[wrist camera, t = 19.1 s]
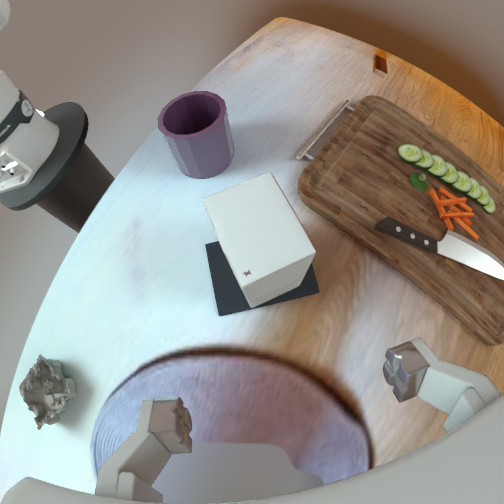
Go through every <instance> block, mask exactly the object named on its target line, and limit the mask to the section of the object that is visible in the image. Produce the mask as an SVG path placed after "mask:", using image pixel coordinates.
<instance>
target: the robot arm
mask: <svg viewBox="0 0 504 504" xmlns="http://www.w3.org/2000/svg"><path fill="white" fill-rule="evenodd" d="M9 16H10V4H9V1H8V0H0V32H1V30H2V29H3V28H4V27H5V26H6V25H7V23H8V20H9ZM58 137H59V127H58V125H56V124H54V123H53V122H51V121H49V120H48V119H46V118H45V117H44V114H43V113H42V112H40V111H38V110H36V109H34V107H33V106H32V104H31V102H30V101H29V99H28V98H27V97H26V96H25V95H24V93H23V92H22V91H21V90H17V88H16V87H15V86H14V85H13V83H12V82H11V81H10V79H9V78H8V77H7V75H6V74H5V73H4V71H2V70H1V69H0V194H1V193H4V192H7V191H10V190H13V189H16V188H19V187H23V186H26V185H28V184H29V183H30V182H31V180H32V178H33V177H34V175H35V173H36V172H37V170H38V169H39V168H40V167H41V165H42V164H43V163H44V162H45V161H46V159H47V158H48V157H49V155H50V154H51V152H52V151H53V149H54V147H55V145H56V143H57V140H58ZM386 358H387V360H386V362H385V363H384V366H383V373H384V377H385V379H386V381H387V383H388V384H389V385H391V386H394V388H393V393H394V395H395V396H396V398H397V400H398V401H399V403H401V402H403V401H406V400H408V399H410V398H413V397H415V396H417V397H418V398H420V399H422V400H423V401H425V402H427V403H429V404H430V405H432V406H434V407H436V408H437V409H439V410H441V411H443V412H444V413H446V414H448V415H449V416H448V418H447V419H446V421H445V422H444V424H443V428H444V429H445V431H446V433H445V434H444V435H442V436H440V437H438V438H437V439H435V440H433V441H431V442H429V443H427V444H426V445H424V446H422V447H420V448H418V449H416V450H414V451H412V452H410V453H408V454H406V455H403V456H401V457H399V458H397V459H395V460H392V461H390V462H388V463H385V464H383V465H381V466H378V467H376V468H373V469H370V470H368V471H365V472H362V473H360V474H357V475H354V476H351V477H348V478H345V479H342V480H339V481H336V482H332V483H329V484H325V485H322V486H318V487H314V488H310V489H306V490H302V491H297V492H293V493H288V494H283V495H277V496H272V497H266V498H259V499H252V500H243V501H234V502H222V503H198V504H504V393H503V394H502V395H501V393H500V392H499V391H498V390H497V388H496V387H495V386H494V385H493V383H492V382H491V381H490V380H489V379H488V377H487V376H486V375H483V374H480V373H477V372H474V371H472V370H469V369H466V368H463V367H461V366H458V365H455V364H452V363H450V362H447V361H444V360H442V361H440V360H439V359H438V358H437V356H436V355H435V354H434V353H433V352H432V350H431V349H430V348H429V347H428V346H427V345H426V343H425V342H424V341H423V340H422V339H421V338H419V337H418V338H416V339H413V340H411V341H408V342H405V343H403V344H400V345H398V346H395V347H393V348H390V349H388V350H387V351H386ZM191 430H192V421H191V416H190V413H189V411H188V409H187V408H185V407H183V401H182V399H181V398H180V397H178V398H161V399H143V401H142V402H141V406H140V411H139V417H138V422H137V428H136V432H134V433H132V434H131V435H130V436H129V437H128V438H127V439H126V440H125V441H124V442H123V443H122V445H121V446H120V447H119V448H118V449H117V450H116V451H115V452H114V453H113V454H112V455H111V456H110V457H109V458H108V459H107V461H106V462H105V463H104V464H103V465H102V466H101V467H100V468H99V473H98V478H97V484H96V489H95V495H94V494H89V493H84V492H80V491H76V490H72V489H68V488H64V487H60V486H57V485H53V484H50V483H47V482H44V481H41V480H38V479H35V478H32V477H26V478H24V479H22V480H21V481H19V482H18V483H17V484H15V485H14V486H13V487H12V488H11V489H9V490H8V491H7V492H6V493H5V495H4V497H3V499H2V501H1V504H177V503H162V494H161V493H160V492H158V491H157V490H155V489H154V488H152V487H151V486H152V484H153V483H154V481H155V480H156V478H157V477H158V475H159V474H160V472H161V471H162V469H163V468H164V466H165V465H166V463H167V462H168V460H169V458H170V457H171V454H178V453H191V452H192V438H191V437H190V436H189V433H190V432H191Z"/></svg>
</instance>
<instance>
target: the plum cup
mask: <svg viewBox="0 0 504 504" xmlns="http://www.w3.org/2000/svg"><path fill="white" fill-rule="evenodd" d="M158 128H159V130H160V132H161V134H162V136H163V138H164V140H165V142H166V144H167V146H168V148H169V150H170V152H171V154H172V156H173V158H174V160H175V162H176V164H177V166H178V167H179V169H180V170H181V172H182V173H184V174H185V175H187V176H189V177H192V178H197V179H204V178H209V177H213V176H215V175H217V174H219V173H221V172H222V171H224V170H225V169H226V168H227V167H228V166H229V164H230V163H231V161H232V159H233V155H234V146H233V141H232V136H231V130H230V125H229V120H228V114H227V109H226V105H225V101H224V100H223V99H222V98H221V97H220V96H218V95H217V94H214V93H211V92H208V91H194V92H190V93H187V94H183V95H181V96H179V97H177V98H175V99H173V100H172V101H170V102H169V103H168V104H167V105H166V106H165V107H164V108H163V109H162V111H161V113H160V115H159V117H158Z"/></svg>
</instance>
